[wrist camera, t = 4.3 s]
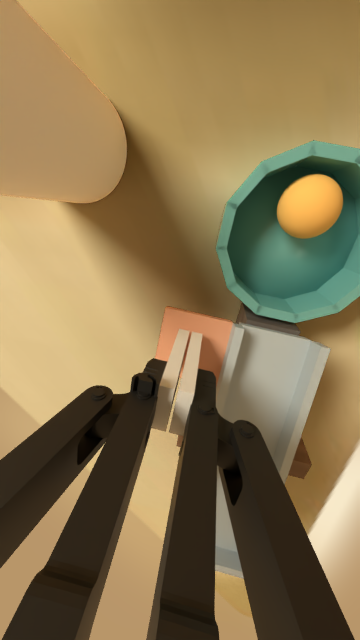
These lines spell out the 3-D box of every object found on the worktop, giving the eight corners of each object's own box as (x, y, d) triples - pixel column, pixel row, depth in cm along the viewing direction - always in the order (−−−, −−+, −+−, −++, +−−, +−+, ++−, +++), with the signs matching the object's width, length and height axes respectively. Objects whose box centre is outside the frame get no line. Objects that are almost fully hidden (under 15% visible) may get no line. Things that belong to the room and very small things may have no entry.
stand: (204, 293, 23) (198, 328, 16) (325, 319, 23) (376, 369, 15) (169, 440, 31) (154, 510, 23) (259, 463, 30) (272, 543, 23)
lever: (169, 304, 20) (161, 310, 17) (310, 336, 20) (333, 349, 16) (127, 505, 24) (114, 544, 20) (246, 537, 23) (253, 584, 20)
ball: (267, 219, 20) (287, 162, 17) (317, 229, 20) (346, 173, 17) (270, 241, 17) (295, 177, 14) (329, 254, 17) (366, 190, 14)
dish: (238, 145, 19) (244, 127, 15) (391, 174, 18) (439, 163, 14) (205, 288, 23) (202, 302, 19) (327, 315, 22) (350, 335, 18)
